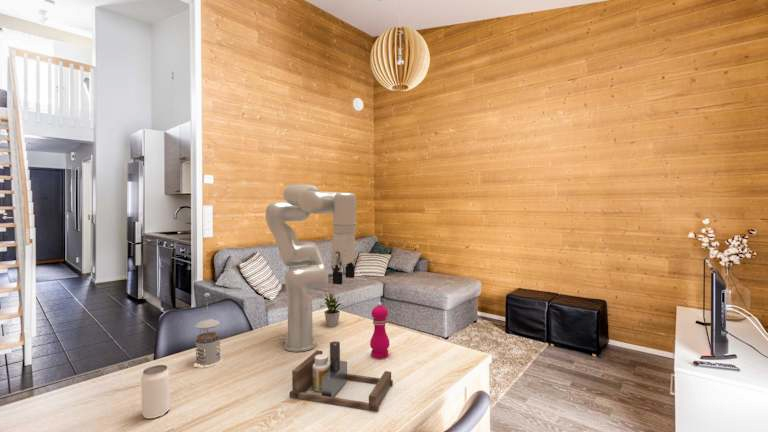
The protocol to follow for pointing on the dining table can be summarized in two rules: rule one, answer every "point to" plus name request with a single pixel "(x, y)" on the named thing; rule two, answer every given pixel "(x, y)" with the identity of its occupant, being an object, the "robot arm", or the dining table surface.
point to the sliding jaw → (334, 372)
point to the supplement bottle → (320, 370)
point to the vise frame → (304, 381)
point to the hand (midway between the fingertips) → (343, 280)
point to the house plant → (331, 310)
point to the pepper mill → (379, 333)
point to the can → (155, 391)
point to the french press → (207, 342)
